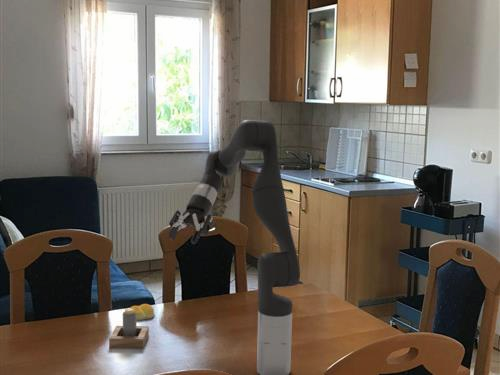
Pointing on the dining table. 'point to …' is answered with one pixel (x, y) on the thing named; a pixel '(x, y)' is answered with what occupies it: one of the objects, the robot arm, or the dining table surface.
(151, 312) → the bread roll
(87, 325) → the dining table surface
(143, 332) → the socket
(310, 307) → the dining table surface
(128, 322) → the plug
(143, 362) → the dining table surface
